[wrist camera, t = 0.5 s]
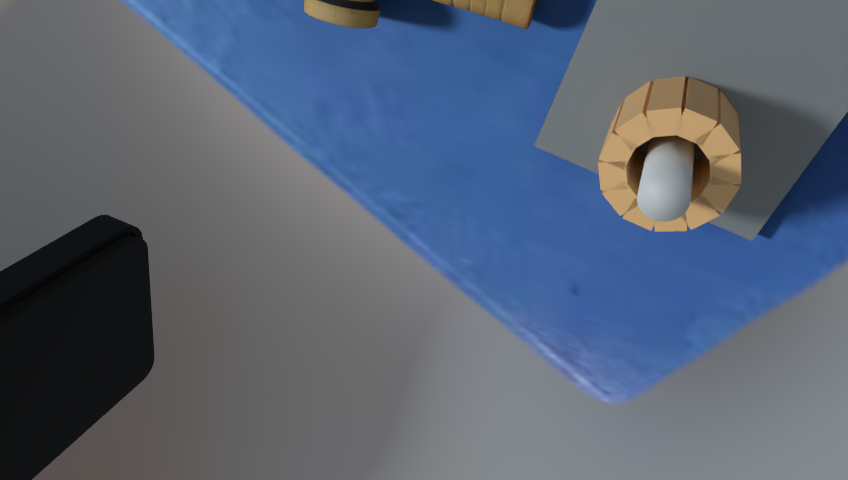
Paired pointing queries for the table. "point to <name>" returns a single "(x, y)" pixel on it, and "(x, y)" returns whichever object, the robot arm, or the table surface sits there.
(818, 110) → the board
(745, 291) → the table surface
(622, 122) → the collar
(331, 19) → the kendama
